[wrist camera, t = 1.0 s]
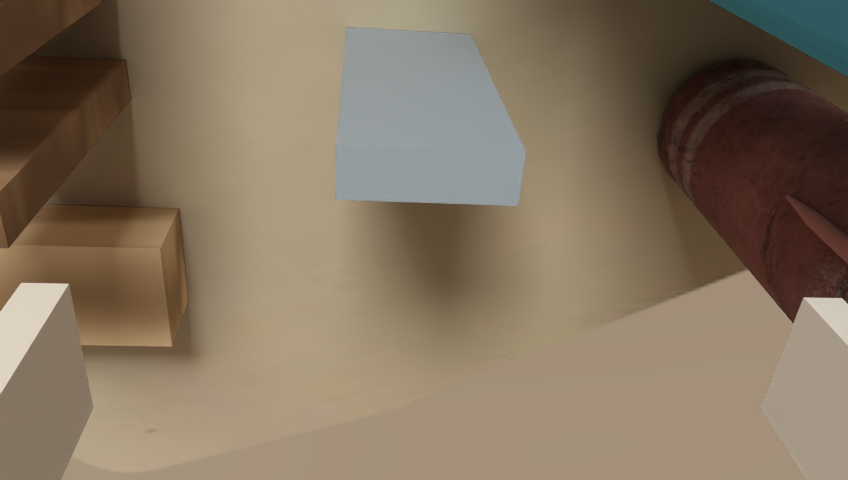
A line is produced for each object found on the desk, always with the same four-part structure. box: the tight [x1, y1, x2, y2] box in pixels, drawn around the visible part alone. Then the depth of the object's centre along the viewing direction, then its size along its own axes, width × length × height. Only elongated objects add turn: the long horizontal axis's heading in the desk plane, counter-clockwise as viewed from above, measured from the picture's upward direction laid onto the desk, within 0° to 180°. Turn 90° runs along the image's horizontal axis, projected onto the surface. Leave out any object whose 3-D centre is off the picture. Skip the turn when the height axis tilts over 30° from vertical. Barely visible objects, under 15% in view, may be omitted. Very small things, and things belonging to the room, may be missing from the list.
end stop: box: [0, 204, 188, 347], centre depth 32 cm, size 5×8×4 cm, turn 86°
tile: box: [335, 27, 526, 206], centre depth 25 cm, size 2×5×12 cm, turn 86°
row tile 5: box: [0, 55, 131, 248], centre depth 24 cm, size 2×5×12 cm, turn 86°
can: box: [658, 60, 848, 323], centre depth 27 cm, size 6×6×14 cm
